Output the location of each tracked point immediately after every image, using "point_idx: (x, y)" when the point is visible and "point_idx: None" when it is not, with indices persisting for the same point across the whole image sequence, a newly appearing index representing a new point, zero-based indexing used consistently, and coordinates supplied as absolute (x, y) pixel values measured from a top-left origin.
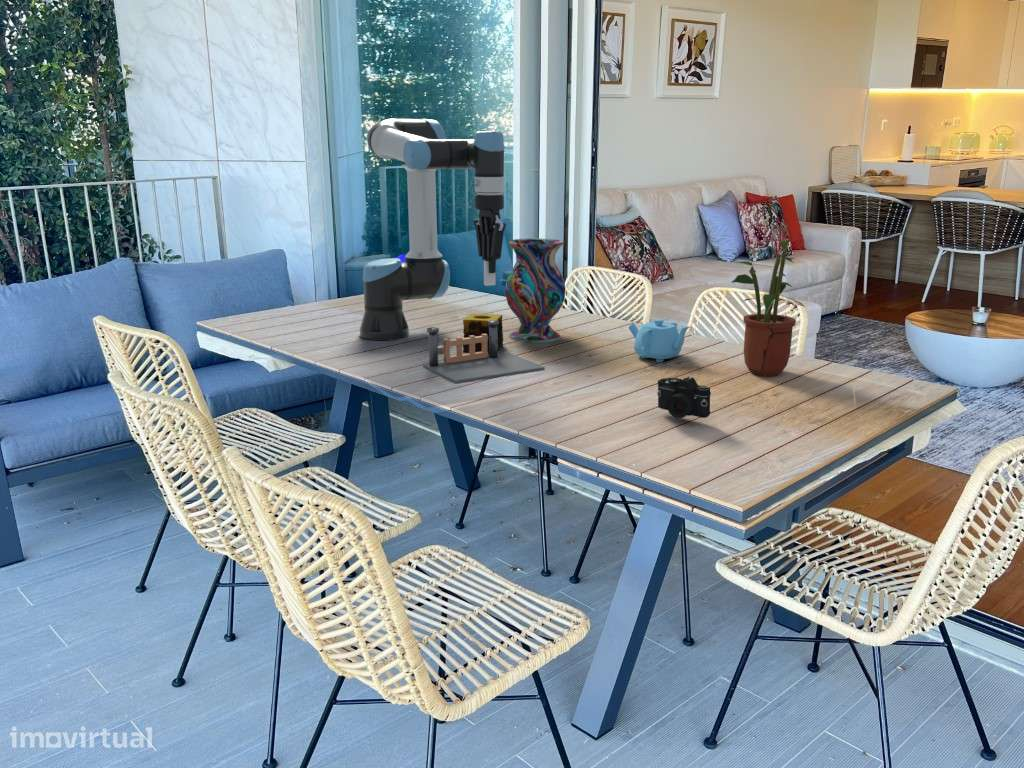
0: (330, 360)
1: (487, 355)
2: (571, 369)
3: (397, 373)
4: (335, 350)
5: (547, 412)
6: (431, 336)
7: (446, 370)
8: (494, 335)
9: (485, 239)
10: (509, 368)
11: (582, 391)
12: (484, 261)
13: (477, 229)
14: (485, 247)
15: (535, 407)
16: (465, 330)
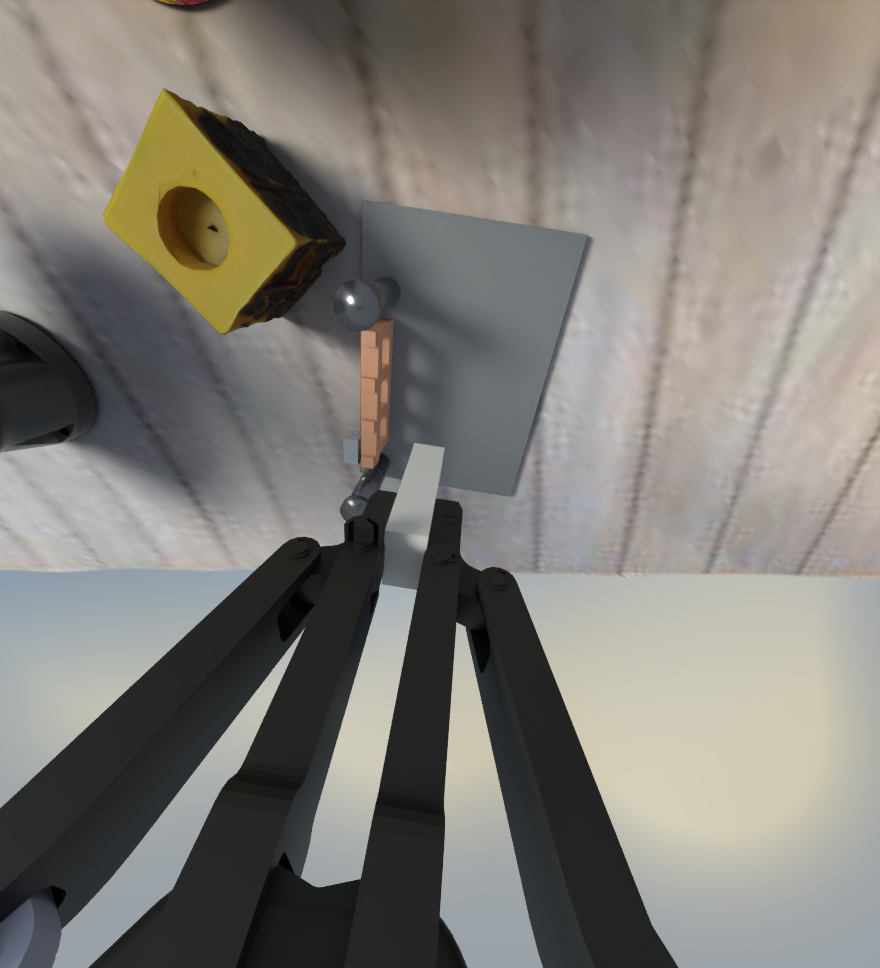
0: (237, 553)
1: (392, 320)
2: (664, 144)
3: None
4: (160, 516)
5: (802, 491)
6: None
7: None
8: (384, 306)
9: (335, 742)
10: (518, 340)
11: (821, 322)
12: (393, 581)
13: (122, 852)
14: (357, 660)
15: (761, 487)
16: (249, 322)
